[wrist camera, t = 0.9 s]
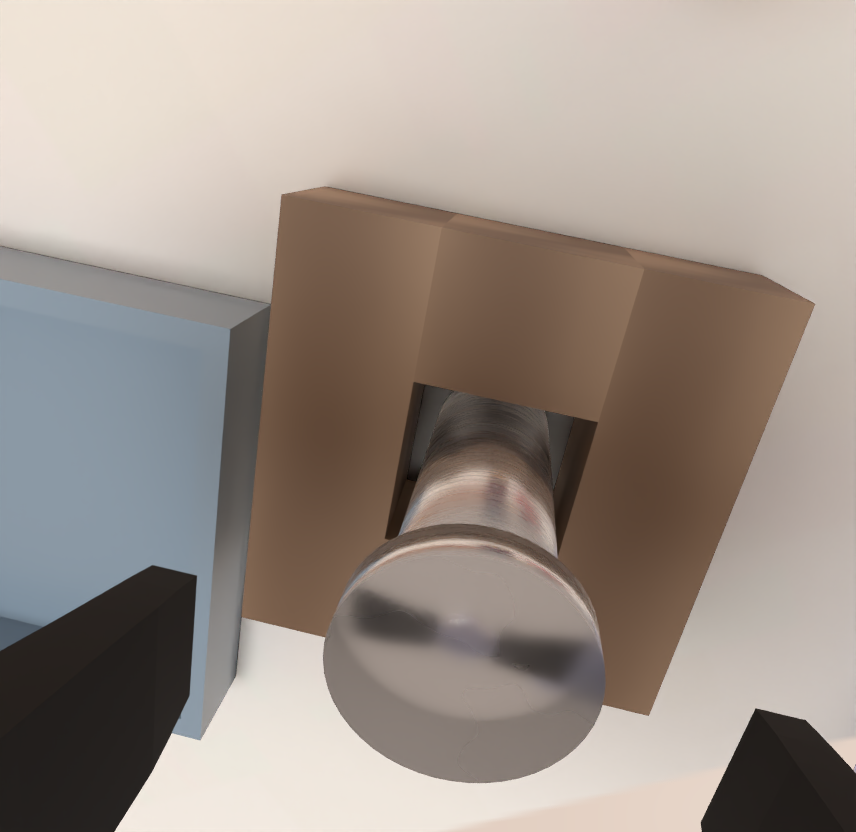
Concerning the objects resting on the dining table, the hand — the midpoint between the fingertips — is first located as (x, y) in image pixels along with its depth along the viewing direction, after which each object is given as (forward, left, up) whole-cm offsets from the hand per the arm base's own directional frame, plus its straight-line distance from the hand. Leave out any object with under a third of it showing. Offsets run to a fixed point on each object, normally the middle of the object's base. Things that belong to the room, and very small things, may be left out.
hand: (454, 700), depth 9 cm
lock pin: (0, 0, -9) cm, 9 cm away
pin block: (0, 0, -9) cm, 9 cm away
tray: (+12, +4, -9) cm, 16 cm away
